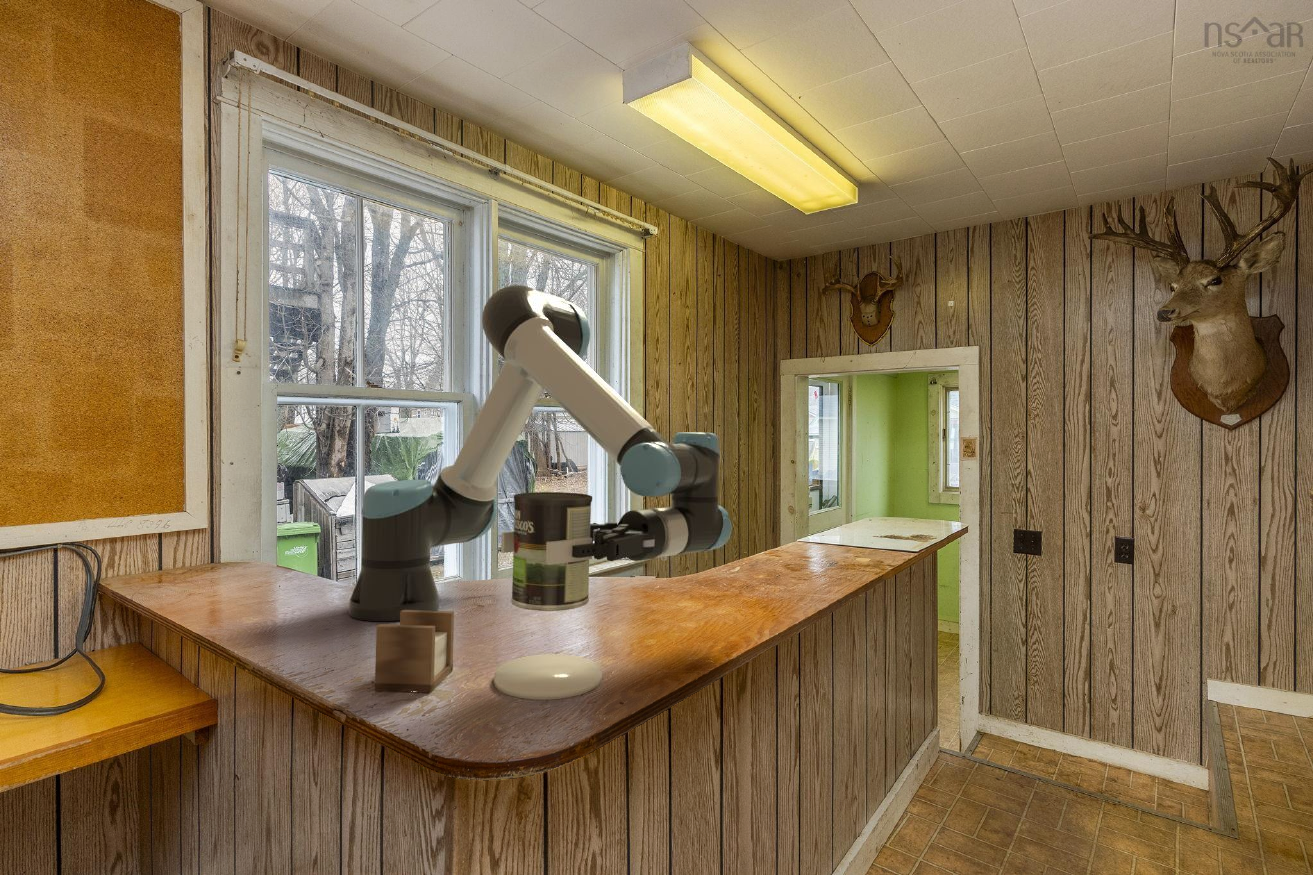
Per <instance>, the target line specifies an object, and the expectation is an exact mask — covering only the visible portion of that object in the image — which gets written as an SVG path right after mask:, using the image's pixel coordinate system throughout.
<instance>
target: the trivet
mask: <svg viewBox="0 0 1313 875" xmlns="http://www.w3.org/2000/svg"><path fill="white" fill-rule="evenodd" d="M602 672H603V671H602V667H601V666H600V664H598V663H597V662H595V660H594V661H593V660H591V659H590V658H586V657H582V656H579V655H578V656H577V655H573V654H562V653H561V654H560V653H545V654H536V655H535V654H533V655H528V656H523V657H519V658H515V659H511V660H509V661H506V662H505V663H503V664H501V665H500V666H498V667H497V668H496V670H495V671H494V674H493V683H494V686H495V688H496V689H497V690H498V691H499V692H501V693H503V694H506V695H508V696H510V697H514V698H518V699H524V700H534V701H537V700H538V701H540V700H541V701H543V700H544V701H547V700H548V701H549V700H550V701H551V700H560V699H568V698H573V697H577V696H579V695H584V694H586V693H588V692H590V691H591V692H592V691H593V690H594V689H595V688H597V687H598V686H599V685H600V684H601V682H602Z"/></svg>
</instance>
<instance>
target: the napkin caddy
mask: <svg viewBox="0 0 1313 875" xmlns="http://www.w3.org/2000/svg"><path fill="white" fill-rule="evenodd" d="M375 629H376V634H375V639H376V640H375V672H374V673H375V674H374V675H375V676H374V678H375V679H374V691H375V692H390V693H391V692H394V693H395V692H396V693H405V692H404V691H412V692H411V693H414V692H413V691H417V692H416V693H418V692H431V693H432V692H433V691H435V689H436V688H437V687H438V686H439V685H440V684H441V683H442V682H443V681H444V680H445V679H446V678H447V677H448V676H449V675H450V674H451V672H453V670H454V668H453V666H454V665H453V664H454V638H455V637H454V635H455V634H454V629H455V611H452V610H449V611H448V610H437V611H424V610H402V611H401V612H400V620H399V624H389V623H387V624H386V623H385V624H384V623H380V624H378V625H377V626H376V628H375ZM448 674H449V675H448ZM446 676H447V677H446ZM444 678H445V679H444ZM443 679H444V680H443ZM441 681H442V682H441ZM439 683H440V684H439ZM436 686H437V687H436ZM434 688H435V689H434ZM402 691H403V692H402Z"/></svg>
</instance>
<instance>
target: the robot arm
mask: <svg viewBox="0 0 1313 875" xmlns="http://www.w3.org/2000/svg"><path fill="white" fill-rule="evenodd" d="M481 317H482V318H481V324H482V329H483V332H484V335H485V337H486V339H487V341H488V343H490V345H491V346H492V347H493V348H494V350H495V351H496V352H497V353H498V354H499V356H501V357H502V358H503V359H504V360H505V361H504V364H503V366H502V368H501V369H500V372H499V374H498V375H497V378H496V379H495V382H494V384H493V385H492V388H491V389H490V392H489V394H488V395H487V398H486V399H485V402H484V403H483V406H482V407H481V410H480V411H479V413H478V415H477V418H476V419H475V421H474V423H473V426H472V427H471V430H469V433H468V435H467V438H466V439H465V441H464V444H463V446H462V447H461V449H460V451H459V453H458V455H457V457H456V459H455V461H454V463H453V465H449V466H445V467H444V468H442V469H441V471H440V473H439V475H438V477H437V479H436V481H435V483H434V485H433V484H432V483H431V481H430V480H426V479H404V480H394V481H387V482H381V483H377V484H374V485H371V486H370V487H369V488H367V489H366V490H365V492H364V494H363V501H362V502H363V503H362V508H361V515H362V516H361V518H362V520H361V521H362V523H361V525H362V526H361V563H360V572H359V574H358V577H357V580H356V583H355V585H354V588H353V590H352V593H351V597H350V599H349V603H348V608H349V609H348V615H349V616H350V617H352V618H354V619H357V620H362V621H371V622H391V621H392V622H394V621H400V612H401V611H402V610H424V611H439V608H440V594H439V591H438V588H437V584H436V583H435V579H434V575H433V572H432V569H431V548H434V547H440V546H447V545H453V544H463V543H469V542H471V541H473V540H476V539H478V538H482V537H483V536H484V535H486V534H487V533H488V532H489V531H490V529H491V528H492V527H493V525H494V523H495V521H496V518H497V514H498V509H496V506H497V504H498V502H497V498H496V497H497V488H496V487H495V485H494V484H495V482H496V480H497V478H498V476H499V474H500V472H501V471H502V469H503V466H505V464H506V461H507V460H508V457H509V456H510V453H511V451H512V450H513V448H514V445H515V444H516V442H517V440H518V439H519V436H520V434H521V432H522V431H523V428H524V427H525V425H526V424H527V421H528V419H529V417H530V416H531V414H532V412H533V411H534V410H533V409H534V408H535V406H536V404H537V402H538V400H539V398H540V397H541V395H542V393H543V391H545V392H546V393H547V394H548V395H549V396H550V397H551V398H552V399H553V400H554V401H555V402H556V403H557V404H558V405H559V406H560V407H561V408H562V409H563V410H564V411H565V412H566V413H567V414H568V415H569V416H570V417H571V419H573V420H574V421H575V422H576V423H577V424H578V425H579V426H580V427H581V428H582V429H583V430H584V431H585V432H586V433H587V434H588V435H589V436H590V438H592V439H593V440H594V441H595V442H596V443H597V444H598V446H600V447H601V448H602V449H603V450H604V451H605V452H606V453H607V454H608V455H609V457H611V458H612V459H613V460H614V461H615V462H616V463H617V464H618V465H619V466H620V467H619V468H620V474H621V479H622V481H623V484H624V485H625V487H626V488H627V489H628V490H629V491H630V492H632V493H633V494H635V495H638V496H642V497H650V498H651V497H655V498H657V497H664V496H666V495H671V506H668V507H653V508H644V509H643V508H641V509H631V510H628V511H627V512H625V513H624V514H623V515H622V516H621V518H620V519H619V521H618V522H611V521H609V522H605V523H597V522H593V523H590V538H579V539H570V540H560V541H551V542H546V564H548V565H553V564H560V563H567V562H575V561H582V560H589V561H590V560H592V559H596V560H600V561H601V560H603V559H605V558H606V560H607V561H609V562H614V561H617V560H620V559H625V558H627V559H628V560H630V561H633V562H639V561H645V560H654V559H656V558H657V559H659V558H660V559H661V561H667V560H668V557H670V556H671V557H672V556H678V555H686V554H694V553H705V552H709V551H714V550H716V549H719V548H721V547H723V546H725V544H726V543H727V542H728V541H729V539H730V537H731V534H732V530H733V528H732V526H733V525H732V520H731V519H730V516H729V513H728V511H727V510H726V509H725V508H724V507H723V506H721V505H719V475H720V458H721V453H720V444H719V443H720V442H719V441H720V440H719V437H718V436H717V434H716V433H713V432H696V431H695V432H690V431H689V432H682V431H681V432H677V433H676V434H674V436H673V440H672V443H671V442H669V441H668V440H667V439H666V438H665V437H664V436H662V434H660V432H658V431H657V430H656V429H655V427H653V426H652V424H650V423H649V422H648V420H646V419H645V418H644V417H643V416H642V415H641V414H640V413H639V412H638V411H637V410H636V409H634V408H633V407H632V406H631V405H630V403H628V402H627V401H626V400H625V399H624V398H623V397H622V396H621V395H620V394H619V393H618V392H617V391H616V390H614V389H613V387H611V386H610V385H609V384H608V383H607V382H606V381H605V380H604V379H603V378H602V377H601V376H599V375H598V374H597V373H596V372H595V371H594V369H592V368H591V367H590V366H589V365H588V364H587V363H586V362H585V361H584V360H582V357H583V356H585V354H586V353H587V352H586V351H587V350H588V347H589V344H590V339H591V328H590V326H589V321H588V318H587V316H586V314H585V313H584V312H583V310H582V309H581V308H580V307H578V306H577V305H576V304H574V303H572V302H570V301H568V300H567V299H565V298H562V297H560V296H557V295H553V294H549V293H546V292H543V291H540V290H537V289H535V288H532V287H529V286H526V285H520V284H519V285H517V284H516V285H513V284H512V285H507V286H504V287H502V288H500V289H499V290H496V291H495V292H494V293H493V294H492V295H491V296H490V297H489V298H488V299H487V301H486V303H485V305H484V307H483V310H482V316H481ZM500 532H501V533H500V534H501V535H500V538H501V541H500V542H501V543H500V553H503V554H507V553H513V547H514V530H510V531H500ZM592 557H593V558H592Z"/></svg>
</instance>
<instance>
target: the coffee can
mask: <svg viewBox="0 0 1313 875" xmlns="http://www.w3.org/2000/svg"><path fill="white" fill-rule="evenodd" d="M513 502H514V508H513V509H514V511H513V512H514V513H513V515H514V516H513V519H514V520H513V522H514V523H513V531H514V547H513V552H512V554H513V556H512V557H513V558H512V587H511V588H512V589H511V590H512V591H511V600H510V601H511V604H512V605H513V606H515V607H518V608H521V609H524V610H530V611H538V612H558V611H559V612H560V611H567V610H568V611H569V610H575V609H578V608H581V607H583V606H586V605H587V604H588V603H589V601H590V600H589V599H590V598H589V587H590V586H589V585H590V583H589V582H590V578H589V577H590V559H589V560H582V561H575V562H567V563H560V564H553V565H548V564H546V542H551V541H560V540H570V539H579V538H590V524H591V517H592V502H593V496H592V495H590V494H587V493H586V494H585V493H578V492H565V491H564V492H563V491H562V492H561V491H560V492H559V491H558V492H557V491H556V492H555V491H535V492H534V491H533V492H520V493H516V494H514V495H513Z"/></svg>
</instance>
